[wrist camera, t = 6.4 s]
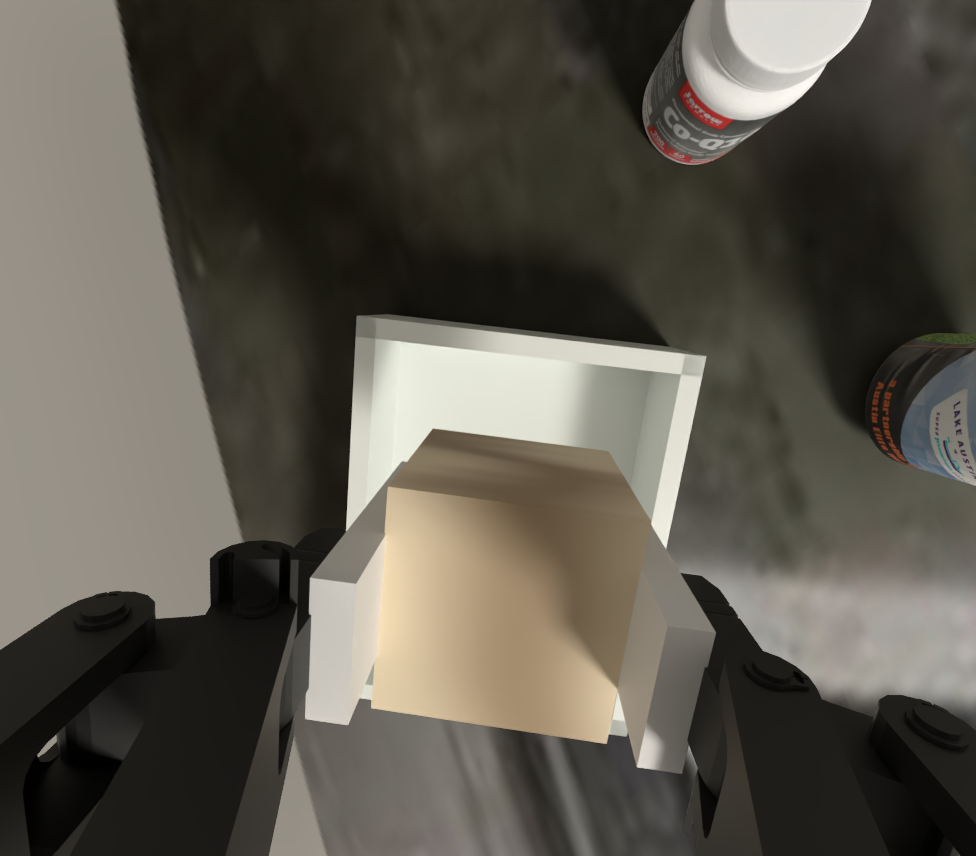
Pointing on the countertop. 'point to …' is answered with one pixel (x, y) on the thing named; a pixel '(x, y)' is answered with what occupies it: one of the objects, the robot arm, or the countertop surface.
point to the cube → (508, 585)
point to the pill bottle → (740, 70)
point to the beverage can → (927, 405)
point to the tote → (520, 404)
